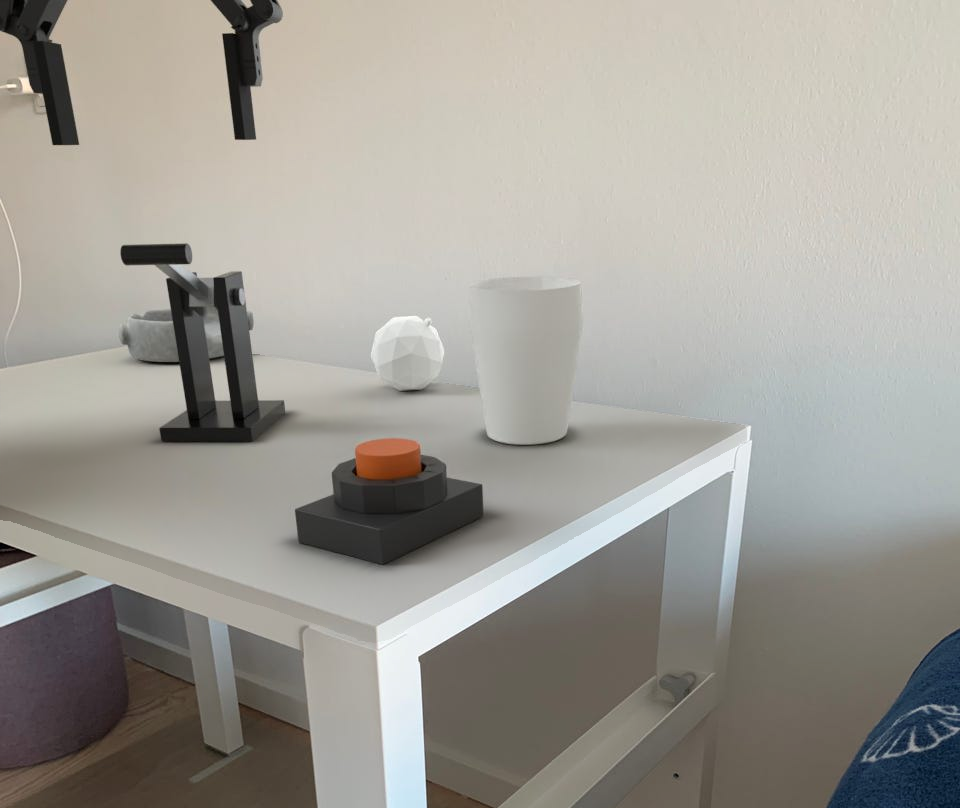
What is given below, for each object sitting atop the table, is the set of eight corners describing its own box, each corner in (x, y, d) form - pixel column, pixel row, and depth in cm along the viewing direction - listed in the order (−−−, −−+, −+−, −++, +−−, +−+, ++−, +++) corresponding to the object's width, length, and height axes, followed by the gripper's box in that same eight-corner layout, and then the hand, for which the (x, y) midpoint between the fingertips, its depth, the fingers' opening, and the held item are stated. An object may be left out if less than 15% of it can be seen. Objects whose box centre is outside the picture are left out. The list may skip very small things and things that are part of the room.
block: (383, 565, 58) (378, 499, 57) (298, 542, 62) (290, 480, 60) (483, 516, 65) (482, 456, 64) (402, 498, 69) (398, 442, 67)
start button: (392, 487, 60) (390, 459, 59) (343, 477, 62) (341, 449, 61) (434, 471, 63) (433, 443, 62) (386, 461, 65) (384, 435, 64)
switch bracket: (252, 441, 84) (231, 281, 79) (161, 441, 85) (133, 283, 79) (285, 413, 93) (268, 267, 87) (202, 413, 94) (180, 268, 88)
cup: (456, 445, 81) (450, 290, 76) (493, 418, 89) (490, 275, 83) (564, 453, 78) (565, 291, 73) (593, 424, 86) (596, 276, 80)
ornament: (415, 376, 106) (455, 315, 101) (423, 416, 101) (466, 354, 96) (356, 348, 102) (394, 283, 98) (361, 388, 97) (402, 322, 93)
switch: (184, 266, 73) (185, 233, 73) (119, 268, 74) (120, 235, 74) (242, 316, 85) (242, 287, 85) (185, 317, 86) (186, 288, 86)
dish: (265, 345, 127) (260, 303, 124) (215, 366, 115) (209, 321, 112) (162, 343, 130) (155, 303, 128) (102, 364, 118) (94, 320, 115)
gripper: (305, -224, 66) (334, 137, 75) (-53, -200, 68) (18, 147, 78) (273, -265, 59) (309, 137, 69) (-123, -237, 62) (-35, 147, 71)
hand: (155, 143), depth 73 cm, fingers open, 13 cm apart
